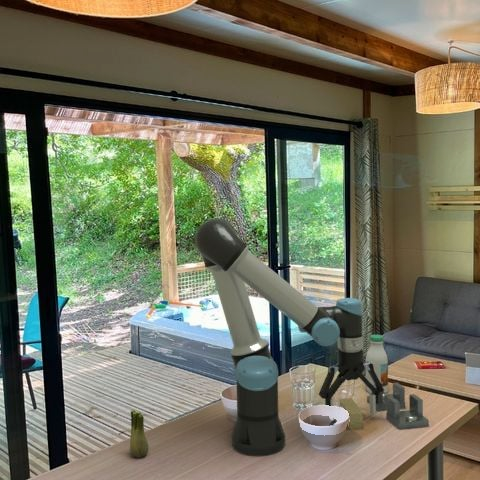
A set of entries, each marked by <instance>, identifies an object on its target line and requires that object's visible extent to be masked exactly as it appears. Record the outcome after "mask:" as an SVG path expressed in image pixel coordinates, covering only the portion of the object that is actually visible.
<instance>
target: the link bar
mask: <svg viewBox="0 0 480 480" xmlns="http://www.w3.org/2000/svg"><path fill="white" fill-rule="evenodd" d="M340 406H341V407H343V408H344V409H345V410H347V411H348V413H349V416H350V422H349V428H348V429H349V430H350V431H354V430H355V431H356V430H358V431H359V430H364V413H363V412H362V410H361V409H360V408H359V406H358V404H357V403H356V402H355V401H354V399H353V398H339V407H340Z"/></svg>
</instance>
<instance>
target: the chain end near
mask: <svg viewBox="0 0 480 480" xmlns="http://www.w3.org/2000/svg"><path fill="white" fill-rule="evenodd" d="M408 396H409V409H408V410H407V409H406V410H400V409H399V402H398V401H397V400H396V399H395V398H393V397H392V396H389V397H387V410H386V413H385V416H386V418H385V419H386V420H387V421H388V422H389V423H390V424H392V425H393V426H394V427H396V429H397V430H399V431H400V430H407V429H408V430H409V429H418V428H419V429H420V428H425V427H427V428H428V427H429V426H430V425H429V423H430V421H429V419H428V418H427V417H425V416H424V412H423V411H424V409H423V408H424V406H423V405H424V403H423V402H424V400H423V399H422V398H421V397H419V396H418V395H416V394H415V393H412V394H411V393H410V394H409V395H408Z"/></svg>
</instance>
